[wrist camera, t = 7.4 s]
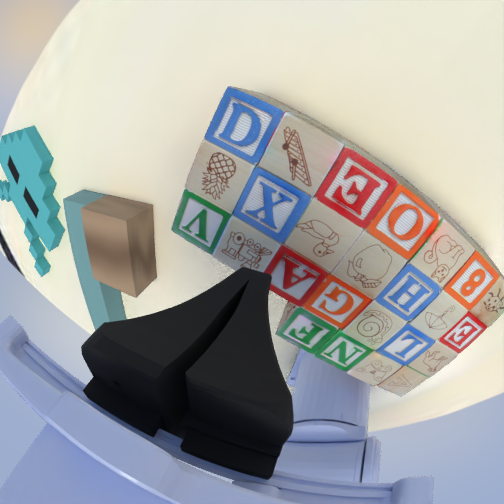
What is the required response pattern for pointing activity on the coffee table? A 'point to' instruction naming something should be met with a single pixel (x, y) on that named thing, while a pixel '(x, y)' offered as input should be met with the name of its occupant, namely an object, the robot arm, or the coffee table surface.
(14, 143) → the alien figure
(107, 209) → the walnut block
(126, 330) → the robot arm
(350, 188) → the stack of blocks
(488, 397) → the coffee table surface
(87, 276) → the teal bar
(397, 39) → the coffee table surface
